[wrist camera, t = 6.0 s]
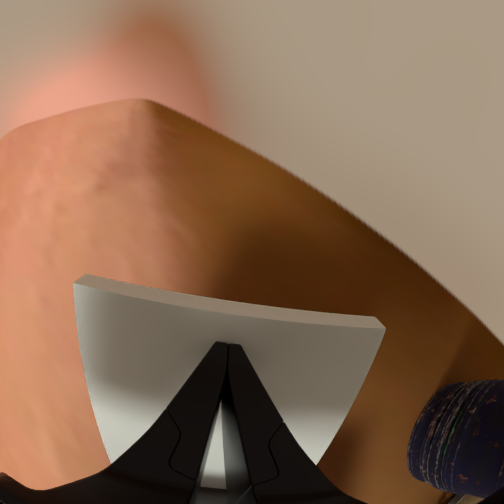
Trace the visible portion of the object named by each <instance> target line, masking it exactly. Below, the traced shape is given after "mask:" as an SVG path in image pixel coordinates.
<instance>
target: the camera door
mask: <svg viewBox="0 0 504 504" xmlns="http://www.w3.org/2000/svg"><path fill="white" fill-rule="evenodd" d="M73 291H74V304H75V315H76V324H77V332H78V339H79V346H80V352H81V358H82V363H83V369H84V374H85V378H86V383H87V387H88V392H89V396H90V400H91V404H92V407H93V411H94V415H95V418H96V421H97V425H98V428H99V431H100V434H101V437H102V440H103V443H104V446H105V449H106V452H107V454H108V457H109V460H110V462H111V464H112V463H113V462H114V461H115V460H116V459H117V458H119V457H120V456H121V455H122V454H123V453H124V452H125V451H126V450H127V449H128V448H130V447H131V446H132V445H133V444H134V443H135V442H136V441H137V440H138V439H139V438H140V437H141V436H142V435H143V434H144V433H145V432H146V431H147V430H148V429H149V428H150V427H151V426H152V424H153V423H154V422H155V421H156V420H157V418H158V417H159V416H160V415H161V413H162V412H163V411H164V409H166V407H167V406H168V404H169V403H170V402H171V400H172V399H173V398H174V396H175V395H176V394H177V392H178V391H179V390H180V388H181V387H182V386H183V384H184V383H185V382H186V380H187V379H188V378H189V376H190V375H191V374H192V372H193V371H194V370H195V368H196V367H197V366H198V364H199V363H200V362H201V360H202V359H203V357H204V356H205V355H206V353H207V352H208V351H209V349H210V348H211V347H212V345H213V344H214V342H216V341H220V342H226V343H228V344H229V343H235V344H240V345H241V346H242V347H243V349H244V351H245V353H246V355H247V357H248V358H249V360H250V362H251V364H252V366H253V368H254V369H255V371H256V373H257V375H258V377H259V378H260V380H261V382H262V384H263V386H264V387H265V389H266V391H267V393H268V394H269V396H270V398H271V400H272V401H273V403H274V405H275V407H276V408H277V410H278V412H279V413H280V415H281V417H282V418H283V420H284V421H283V422H285V423H286V425H287V427H288V428H289V430H290V432H291V433H292V435H293V436H294V438H295V439H296V441H297V442H298V444H299V445H300V446H301V448H302V449H303V450H304V451H305V453H306V454H307V455H308V456H309V458H310V459H311V460H312V461H313V462H314V463H315V465H317V463H318V462H319V460H320V459H321V457H322V456H323V454H324V453H325V451H326V449H327V448H328V446H329V445H330V443H331V441H332V440H333V438H334V436H335V435H336V433H337V431H338V430H339V428H340V426H341V424H342V423H343V421H344V419H345V417H346V416H347V414H348V412H349V410H350V408H351V406H352V404H353V402H354V400H355V399H356V397H357V395H358V393H359V391H360V389H361V387H362V384H363V382H364V380H365V378H366V376H367V374H368V372H369V370H370V367H371V365H372V363H373V361H374V358H375V356H376V354H377V351H378V349H379V346H380V344H381V341H382V339H383V336H384V334H385V331H386V328H385V327H384V325H383V324H382V323H381V322H380V321H379V320H378V319H377V318H376V317H372V316H359V315H347V314H336V313H326V312H316V311H306V310H297V309H289V308H280V307H272V306H265V305H257V304H250V303H243V302H236V301H229V300H222V299H216V298H209V297H203V296H197V295H191V294H185V293H179V292H173V291H168V290H162V289H157V288H152V287H146V286H141V285H136V284H131V283H126V282H121V281H116V280H112V279H107V278H102V277H98V276H93V275H89V274H85V275H84V276H82V277H81V278H80V279H78V280H77V281H75V282H74V283H73ZM200 487H209V488H219V489H226V480H225V467H224V453H223V438H222V420H221V403H220V408H219V412H218V416H217V420H216V424H215V428H214V433H213V437H212V441H211V445H210V449H209V453H208V457H207V461H206V465H205V469H204V473H203V477H202V481H201V485H200Z"/></svg>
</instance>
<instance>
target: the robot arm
mask: <svg viewBox="0 0 504 504" xmlns="http://www.w3.org/2000/svg"><path fill="white" fill-rule="evenodd" d="M220 403H221V420H222V438H223V453H224V467H225V480H226V492H227V503H228V504H367V503H365V502H362V501H360V500H358V499H355V498H353V497H351V496H349V495H347V494H345V493H343V492H342V491H340V490H339V489H338V488H337V487H335V486H334V485H333V484H332V483H331V482H330V481H329V479H328V478H327V477H326V476H325V475H324V474H323V473H322V472H321V470H320V469H319V468H318V467H317V466H316V465H315V463H314V462H313V461H312V460H311V459H310V458H309V456H308V455H307V454H306V453H305V451H304V450H303V449H302V448H301V446H300V445H299V444H298V442H297V441H296V439H295V438H294V436H293V435H292V433H291V432H290V430H289V428H288V427H287V425H286V423H285V422H283V421H284V420H283V418H282V417H281V415H280V413H279V412H278V410H277V408H276V407H275V405H274V403H273V401H272V400H271V398H270V396H269V394H268V393H267V391H266V389H265V387H264V386H263V384H262V382H261V380H260V378H259V377H258V375H257V373H256V371H255V369H254V368H253V366H252V364H251V362H250V360H249V358H248V357H247V355H246V353H245V351H244V349H243V347H242V346H241V345H240V344H235V343H229V344H228V343H226V342H220V341H216V342H214V344H213V345H212V347H211V348H210V349H209V351H208V352H207V353H206V355H205V356H204V357H203V359H202V360H201V362H200V363H199V364H198V366H197V367H196V368H195V370H194V371H193V372H192V374H191V375H190V376H189V378H188V379H187V380H186V382H185V383H184V384H183V386H182V387H181V388H180V390H179V391H178V392H177V394H176V395H175V396H174V398H173V399H172V400H171V402H170V403H169V404H168V406H167V407H166V409H164V411H163V412H162V413H161V415H160V416H159V417H158V418H157V420H156V421H155V422H154V423H153V424H152V426H151V427H150V428H149V429H148V430H147V431H146V432H145V433H144V434H143V435H142V436H141V437H140V438H139V439H138V440H137V441H136V442H135V443H134V444H133V445H132V446H131V447H130V448H128V449H127V450H126V451H125V452H124V453H123V454H122V455H121V456H120V457H119V458H117V459H116V460H115V461H114V462H113V463H112V464H110V465H109V466H108V467H106V468H105V469H104V470H102V471H100V472H98V473H96V474H94V475H92V476H89V477H86V478H83V479H80V480H78V481H75V482H72V483H68V484H65V485H62V486H59V487H55V488H52V489H48V490H34V489H30V488H28V487H26V486H24V485H22V484H21V483H19V482H17V481H16V480H14V479H13V478H11V477H10V476H8V475H7V474H5V473H4V472H1V473H0V504H196V501H197V497H198V493H199V489H200V485H201V481H202V477H203V473H204V469H205V465H206V461H207V457H208V453H209V449H210V445H211V441H212V437H213V433H214V428H215V424H216V420H217V416H218V412H219V408H220ZM476 504H504V487H502V488H501V489H499V490H498V491H496V492H495V493H493V494H491V495H490V496H488V497H487V498H485V499H483V500H482V501H480V502H478V503H476Z"/></svg>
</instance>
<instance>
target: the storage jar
mask: <svg viewBox="0 0 504 504" xmlns="http://www.w3.org/2000/svg"><path fill="white" fill-rule="evenodd" d="M407 462H408V468H409V471H410V473H411V474H412V476H413V477H414V478H416V479H418V480H420V481H423V482H427V483H428V484H430V485H432V486H433V487H435V488H437V489H440V490H442V491H446V492H451V493H454V494H458V495H467V494H469V495H472V496H476V497H480V498H484V499H485V498H487V497H488V496H490V495H491V494H493V493H495V492H496V491H498V490H499V489H501V488H502V487H504V380H498V379H495V380H479V381H474V382H468V383H462V382H459V383H452V384H449V385H447V386H445V387H444V388H442V389H441V390H440V391H438V392H437V393H436V394H435V395H434V396H433V397H432V399H431V400H430V401H429V403H428V404H427V405H426V407H425V408H424V410H423V411H422V413H421V415H420V417H419V419H418V420H417V423H416V425H415V427H414V430H413V433H412V435H411V439H410V442H409V447H408V453H407Z"/></svg>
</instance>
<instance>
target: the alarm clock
mask: <svg viewBox="0 0 504 504" xmlns="http://www.w3.org/2000/svg"><path fill="white" fill-rule="evenodd" d="M483 499H484V498H480V497H476V496H472V495H469V494H467V495H458V494H457V495H456V496H455V497H454V498H453V499H452V500H451V501H450V502H449V503H448V504H476V503H478V502H480V501H482V500H483Z"/></svg>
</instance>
